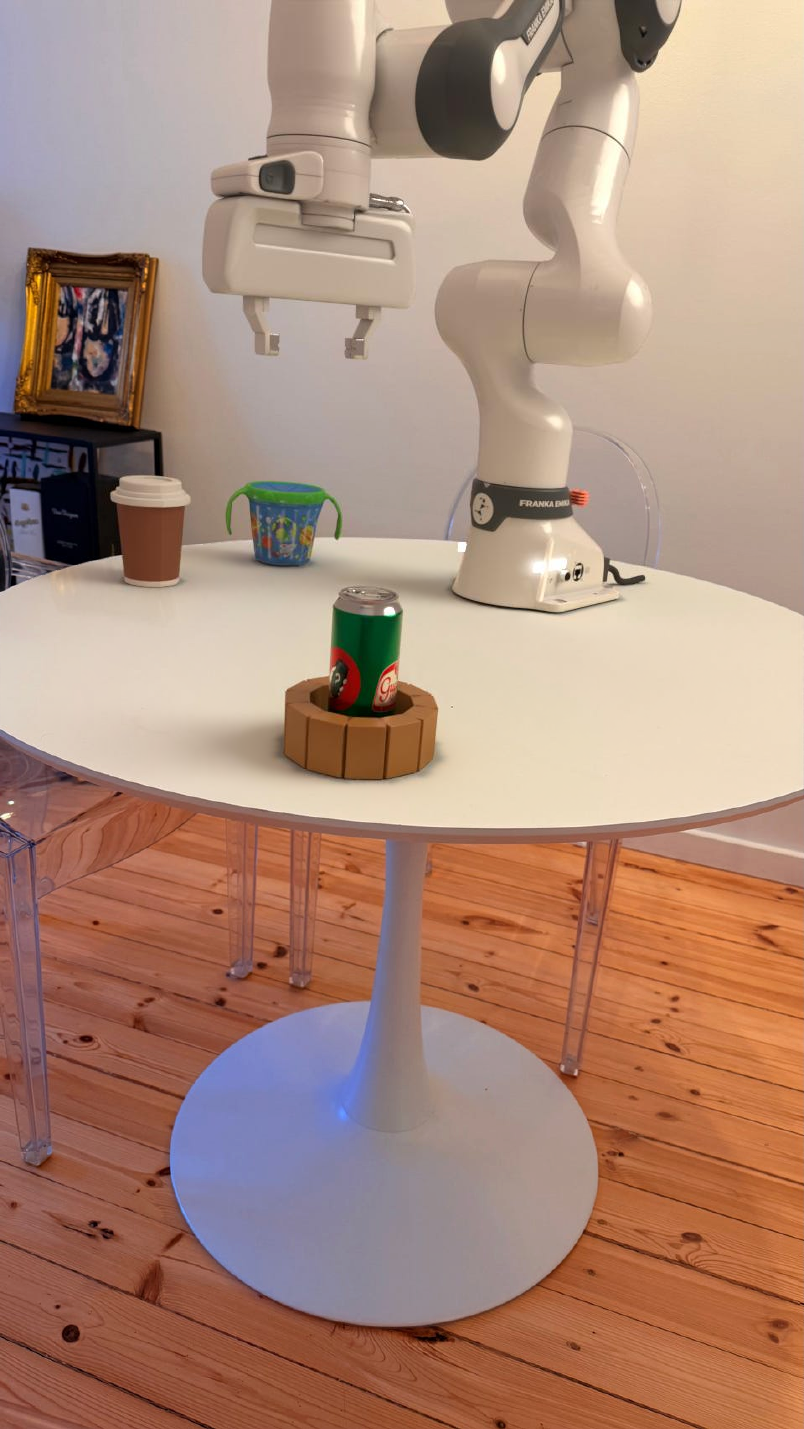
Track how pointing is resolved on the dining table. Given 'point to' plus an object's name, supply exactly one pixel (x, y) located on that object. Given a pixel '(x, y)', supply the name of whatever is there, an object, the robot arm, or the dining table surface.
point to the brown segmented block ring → (359, 734)
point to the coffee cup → (150, 528)
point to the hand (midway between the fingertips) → (312, 357)
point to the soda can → (365, 652)
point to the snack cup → (283, 519)
